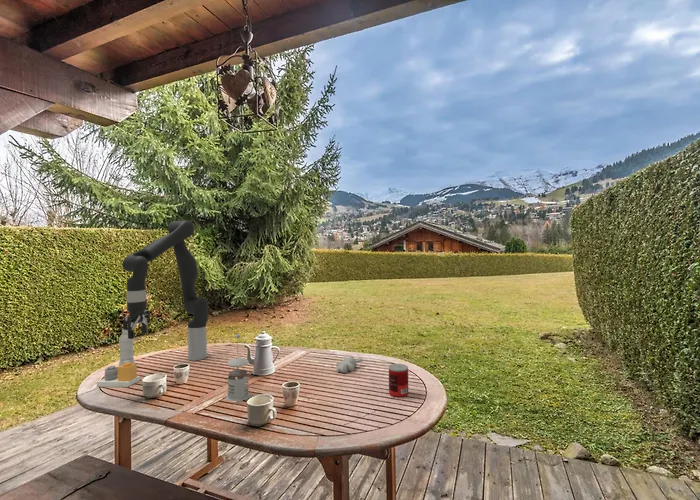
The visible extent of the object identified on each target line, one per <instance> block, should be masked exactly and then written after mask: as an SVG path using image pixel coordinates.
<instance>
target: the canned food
mask: <svg viewBox="0 0 700 500" xmlns="http://www.w3.org/2000/svg"><path fill="white" fill-rule="evenodd" d="M388 392H389V393H388V394H389V395H390V396H391V397H392V396H393V398H395V397H403V398H405V397H404V396H406V397H407V396H408V395H409V366H408V365H406V364H403V363H392V364H389V366H388Z"/></svg>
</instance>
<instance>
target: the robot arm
mask: <svg viewBox="0 0 700 500" xmlns="http://www.w3.org/2000/svg"><path fill="white" fill-rule="evenodd" d="M167 229H168V230H167V231H168V234H166V235H164V236H162V237H160V238H157V239H155V240H153V241H151V242H150V243H148V244H147V245H146V246H145V247H142V248H141V249H140V250H137V251H134V252H133V253H131V254H129V255H127V256H126V257H125V258H124V259H123V261H122V264H121V265H122V268H123V270H124V271H126V272H132V275H131V276H130V277H129V278H127V279H126V311H127V312H128V313H129V315H124V316H123V329H124V330H127V331H128V338H129V339H133V338H134V339H135V330H134V329H135V327H136V326H137V324H139V323H140V325H141V326H140V331H141V334H142V335H147V333H148V325H149V324H150V323H151V313H150V312H151V311H150V310H147V292H146V279H147V273H148V270H149V262H153V261H154V260H156V259H157V258H158V257H159V256H161V255H162V254H164V253H165V252H167V251H168V250H169V249H171V248H173V250H174V255H175V259H176V265H177V269H178V270H177V271H178V274H179V278H180V283H181V284H180V285H181V289H182V297H183V298H182V299H183V307H184V311H186V313H188V314H191V315H193V319H192V320H190V321H188V323H187V359H188V361H193V362H195V361H201V360H204V359H206V358H207V357H208V352H207V351H208V350H207V349H208V342H207V322H208V319H209V302H208V299H206V298H205V297H203V296H201V297H200V296H199V297H198V296H197V294H196V289H195V287H196V282H197V279H198V277H199V269H198V264H197V260H196V258H195V257H194V256H193V254H192V253H191V252H190V250H189V249H188V247H187V245H186V242H185V240H186V239H188V238H191V236H193V234H194V232H195V227H194V224H193V223H192V222H191V221H189V220H173V221H171V222H170V223H169V225H168V228H167Z"/></svg>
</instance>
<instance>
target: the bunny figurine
mask: <svg viewBox="0 0 700 500" xmlns="http://www.w3.org/2000/svg"><path fill="white" fill-rule="evenodd" d="M363 361H364V360H363V358H357V359H355V358H354V356H349V357H348V356H347V357H346V356H345V358H343V360H342V361H341V360H340V361H337V362H336V368H335V369H336V372H339V373H343V374H346V373H348V372H350V371H355V368H356V365H357V364H358V363H362V362H363Z"/></svg>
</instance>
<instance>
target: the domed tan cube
mask: <svg viewBox="0 0 700 500" xmlns="http://www.w3.org/2000/svg"><path fill="white" fill-rule="evenodd" d="M137 366H138V364H137V363H134V364H132V362H126V363H123V365H122V366H120V367H119V366H117V367H118V381H130V380H132V379H134V378H136V377H137V376H138V375H137V373H138V372H137V371H138V369H137Z"/></svg>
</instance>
